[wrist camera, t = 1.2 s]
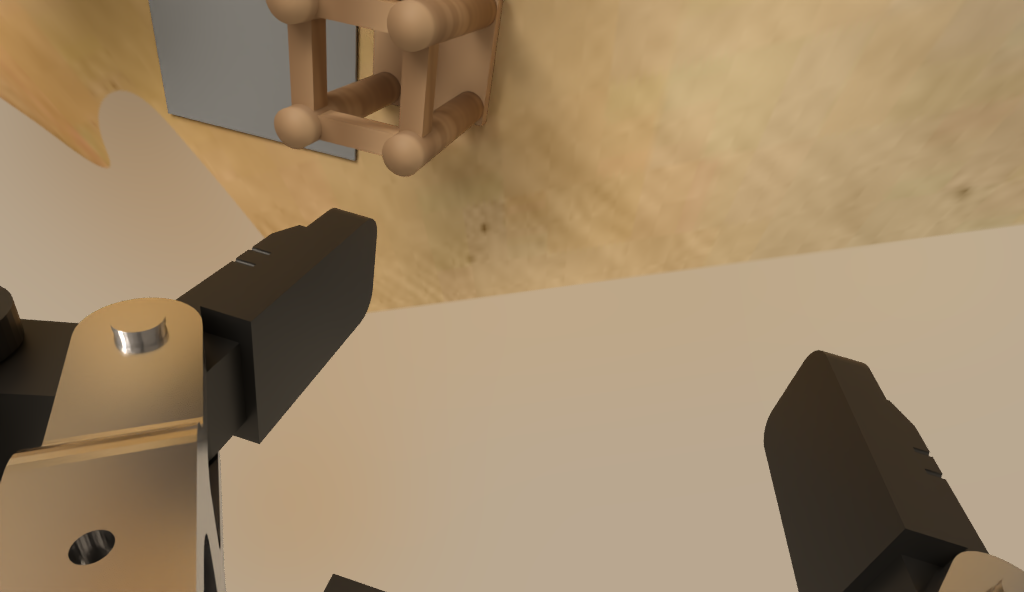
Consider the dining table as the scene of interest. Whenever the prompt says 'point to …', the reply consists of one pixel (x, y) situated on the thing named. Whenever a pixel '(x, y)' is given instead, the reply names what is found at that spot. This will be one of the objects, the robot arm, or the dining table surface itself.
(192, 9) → the mat
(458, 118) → the wooden dowel frame
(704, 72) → the dining table surface
